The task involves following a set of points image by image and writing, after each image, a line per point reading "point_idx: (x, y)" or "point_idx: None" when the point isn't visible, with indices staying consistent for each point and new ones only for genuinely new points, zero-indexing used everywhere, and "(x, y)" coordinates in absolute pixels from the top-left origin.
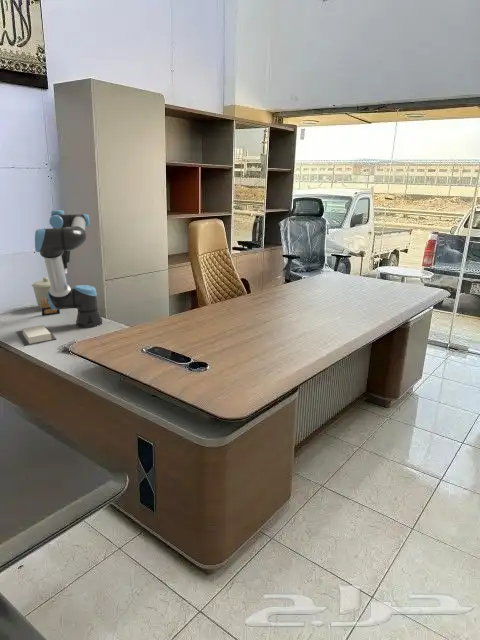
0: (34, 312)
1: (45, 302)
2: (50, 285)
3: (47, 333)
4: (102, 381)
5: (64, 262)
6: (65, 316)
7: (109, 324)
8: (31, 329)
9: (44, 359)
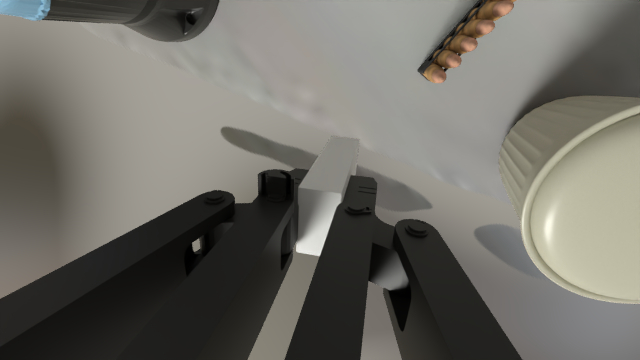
0: (590, 32)
1: (491, 7)
2: (566, 163)
3: None
4: None
5: (255, 199)
6: (354, 36)
7: None
8: None
9: None
